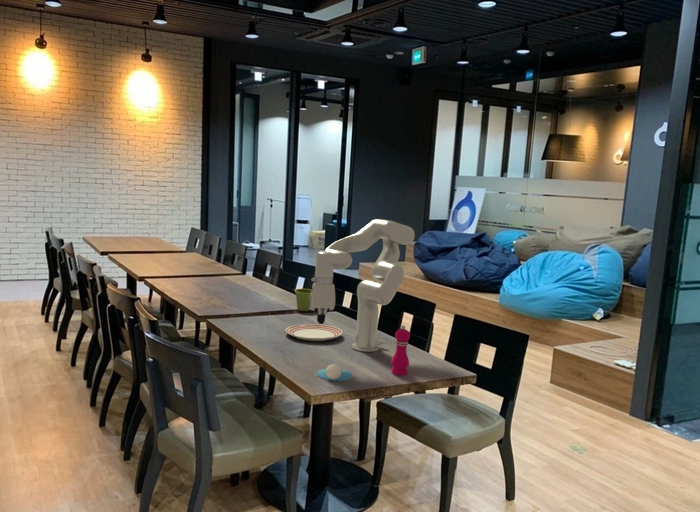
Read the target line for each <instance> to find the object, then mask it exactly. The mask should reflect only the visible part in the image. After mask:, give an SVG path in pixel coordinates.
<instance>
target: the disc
mask: <svg viewBox="0 0 700 512" xmlns="http://www.w3.org/2000/svg"><path fill="white" fill-rule="evenodd" d="M326 369H327V368H323V369H320V370H318V371H317V372H316V373H317V374H316V375H317V376H318V377H319V378H321V379H324V380H326V379H327V381H331V380H332V379H330V378H328V377H327V375H326ZM353 377H354V375H353V374H352V373H351V371H348V370H346V369H343V368H341V376H340V377H339V378H338V379H335V380H332V381H333V382H343V380H344V381H348V380H349V381H350V379H352V378H353Z"/></svg>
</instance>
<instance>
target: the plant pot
mask: <svg viewBox="0 0 700 512" xmlns="http://www.w3.org/2000/svg"><path fill="white" fill-rule="evenodd" d="M311 290H312V288H311V289H310V288H296V289H294V293H295V299H296V308H297V311H300V312H310V309H309V307H310V295H311Z"/></svg>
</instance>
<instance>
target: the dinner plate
mask: <svg viewBox="0 0 700 512" xmlns="http://www.w3.org/2000/svg"><path fill="white" fill-rule="evenodd" d="M285 332H286V333H287V334H288V335H290V336H292V337H294V338H296V339H300V340H303V341H307V340H308V341H307V342H326V340H327V341H330V340H333V339H336V338H338V337H340V336H341V335H343V330H342V329H341V328H339V327H336V326H331V325H328V324H327V325H326V324H319V323H317V324H316V323H303V324H302V323H300V324H296V325H291V326H288V327H287V328H285Z"/></svg>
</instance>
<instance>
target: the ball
mask: <svg viewBox="0 0 700 512" xmlns="http://www.w3.org/2000/svg"><path fill="white" fill-rule="evenodd" d="M325 369H326V375H327V377H328V378H330V379H332V380H335V379H338V378H339V377H340V376H341V369H342V368H341V366H340V365H338V364H337V363H331V364H329V365H328V366H327V367H326V368H325Z"/></svg>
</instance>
